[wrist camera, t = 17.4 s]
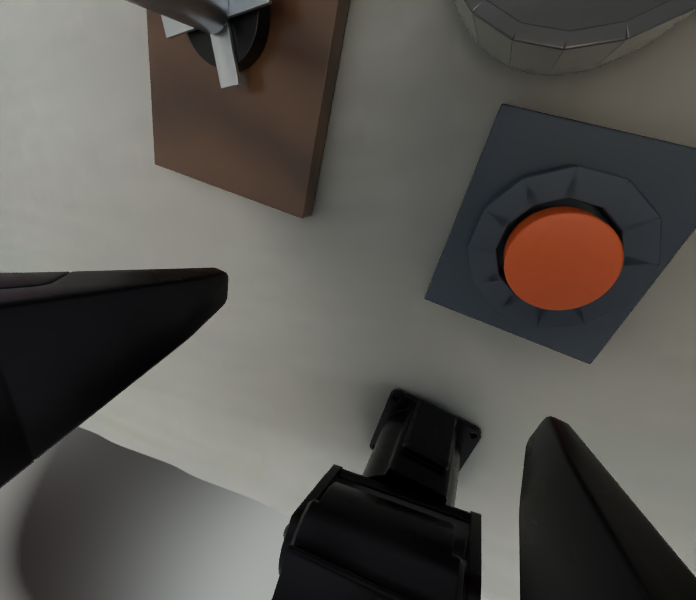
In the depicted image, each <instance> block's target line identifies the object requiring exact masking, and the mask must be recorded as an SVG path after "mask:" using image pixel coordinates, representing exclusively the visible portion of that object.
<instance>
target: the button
mask: <svg viewBox="0 0 696 600" xmlns="http://www.w3.org/2000/svg"><path fill="white" fill-rule="evenodd" d="M623 261H624V251H623V246H622V242H621V240H620V238H619V236H618V235H617V233H616V232H615V231H614V230H613V229H612V228H611V227H610V225H608V224H607V223H605V222H604V221H603V220H601V219H600V218H598V217H597V216H595V215H594V214H592V213H590V212H588V211H586V210H584V209H581V208H577V207H570V206H556V207H550V208H546V209H543V210H540V211H537V212H535V213H533V214H531V215H529V216H528V217H526V218H525V219H524V220H522V221H521V222H520V223H519V224H518V225H517V226H516V227H515V228H514V229H513V231H512V232H511V234H510V235H509V237H508V239H507V241H506V244H505V248H504V273H505V277H506V280H507V283H508V284H509V286H510V288H511V289H512V291H513V292H514V293H515V294H516V295H517V296H518V297H519V298H521V299H522V300H523V301H525V302H527V303H528V304H531V305H533V306H535V307H539V308H542V309H548V310H568V309H574V308H578V307H581V306H584V305H587V304H589V303H591V302H593V301H595V300H596V299H598V298H599V297H601V296H602V295H603V294H605V293H606V292H607V291H608V290H609V289H610V288H611V287H612V286H613V284H614V283H615V282H616V280H617V278H618V277H619V275H620V272H621V270H622V266H623Z"/></svg>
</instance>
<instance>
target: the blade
mask: <svg viewBox="0 0 696 600" xmlns="http://www.w3.org/2000/svg"><path fill="white" fill-rule="evenodd" d="M126 1H128V2H131V3H133V4H136V5H138V6H141V7H143V8H146V9H148V10H151V11H153V12H156V13H158V14H161V17H162V21H163V25H164V29H165V34H166V37H167V38H168V39H172V38H175V37H177V36H180V35H183V34H186V33H187V35H188V37H189V40H190V42H191V44H192V45H193V47H194V49H195V50H196V52H197V53H198V54H199V55H200V56H201V58H202V59H204V60H205V61H206V62H207V63H209V64H210V65H212V66H215V67H217V71H218V76H219V80H220V85H221V88H222V89H226V88H230V87H234V86H239V85H241V80H240V75H239V71H242V70H245V69H247V68H249V67H250V66H251V65H253V64H254V63H255V62H256V61H257V59H258V58H259V57H260V55H261V54H262V52H263V50H264V47H265V45H266V42H267V39H268V35H269V29H270V4H272V1H271V0H126Z"/></svg>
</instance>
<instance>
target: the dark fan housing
mask: <svg viewBox="0 0 696 600" xmlns="http://www.w3.org/2000/svg"><path fill="white" fill-rule="evenodd" d="M454 1H455V4H456V8H457V10H458V13H459V15H460V16H461V18H462V19H463V21H464V23H465V26H466V28H467V30H468V31H469V32H470V34H471V35H472V37H473V38H474V39H475V41H476V42H477V43H478V44H479V45H480V46H481V47H482V48H483V49H484V50H485V51H486V52H487V53H488V54H489V55H491V56H492V57H493V58H495V59H496V60H498V61H499V62H501V63H503V64H505V65H507V66H509V67H511V68H514V69H517V70H521V71H524V72H528V73H536V74H544V75H547V74H566V73H573V72H580V71H584V70H587V69H591V68H594V67H598V66H601V65H604V64H606V63H609V62H611V61H614V60H616V59H619V58H621V57H623V56H625V55H627V54H629V53H631V52H633V51H635V50H637V49H638V48H641V47H643V46H645V45H647V44H648V43H650V42H652V41H653V40H655V39H656V38H657V37H659V36H660V35H662V34H663V33H664V32H666V31H667V30H669V29H670V28H671V27H673V26H674V25H675V24H677V23H678V22H680V21H681V20H682V19H684V18H685V17H687V16H688V15H689V14H691V13H692V12H693V11H695V10H696V0H454Z"/></svg>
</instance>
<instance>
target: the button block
mask: <svg viewBox="0 0 696 600" xmlns="http://www.w3.org/2000/svg"><path fill="white" fill-rule="evenodd" d="M556 206H570V207H577V208H581V209H584V210H586V211H588V212H590V213H592V214H594V215H595V216H597V217H598V218H600V219H601V220H603V221H604V222H605V223H607V224H608V225H610V227H611V228H612V229H613V230H614V231H615V232H616V233H617V235H618V236H619V238H620V240H621V242H622V246H623V251H624V261H623V266H622V270H621V272H620V275H619V277H618V278H617V280H616V282H615V283H614V284H613V286H612V287H611V288H610V289H609V290H608V291H607V292H606V293H605V294H603V295H602V296H601V297H599V298H598V299H596V300H595V301H593V302H591V303H589V304H587V305H584V306H581V307H578V308H574V309H568V310H548V309H542V308H539V307H535V306H533V305H531V304H528V303H527V302H525V301H523V300H522V299H521V298H519V297H518V296H517V295H516V294H515V293H514V292H513V291H512V289H511V288H510V286H509V284H508V283H507V280H506V277H505V273H504V248H505V244H506V241H507V239H508V237H509V235H510V234H511V232H512V231H513V229H514V228H515V227H516V226H517V225H518V224H519V223H520V222H521V221H522V220H524V219H525V218H526V217H528V216H529V215H531V214H533V213H535V212H537V211H540V210H543V209H546V208H550V207H556ZM695 228H696V148H692V147H688V146H684V145H679V144H675V143H671V142H667V141H662V140H658V139H654V138H649V137H645V136H641V135H636V134H632V133H628V132H623V131H619V130H615V129H611V128H606V127H602V126H598V125H593V124H589V123H585V122H580V121H576V120H572V119H568V118H563V117H559V116H555V115H550V114H546V113H542V112H537V111H533V110H529V109H524V108H520V107H516V106H512V105H507V104H502V105H501V107H500V109H499V112H498V114H497V117H496V119H495V122H494V124H493V127H492V129H491V132H490V134H489V137H488V139H487V142H486V144H485V147H484V149H483V152H482V154H481V157H480V159H479V162H478V164H477V167H476V170H475V172H474V175H473V177H472V180H471V182H470V185H469V187H468V190H467V192H466V195H465V197H464V200H463V202H462V205H461V207H460V210H459V212H458V215H457V217H456V220H455V222H454V225H453V227H452V230H451V232H450V235H449V237H448V240H447V242H446V245H445V247H444V250H443V252H442V255H441V258H440V260H439V263H438V265H437V268H436V270H435V273H434V275H433V278H432V280H431V283H430V285H429V288H428V290H427V293H426V295H425V299H426V300H429V301H431V302H434V303H436V304H439V305H442V306H444V307H447V308H449V309H452V310H454V311H457V312H459V313H462V314H464V315H467V316H469V317H472V318H474V319H477V320H479V321H482V322H485V323H487V324H490V325H492V326H495V327H497V328H500V329H502V330H505V331H507V332H510V333H512V334H515V335H517V336H520V337H522V338H525V339H527V340H530V341H533V342H535V343H538V344H540V345H543V346H545V347H548V348H550V349H553V350H555V351H558V352H560V353H563V354H565V355H568V356H570V357H573V358H575V359H578V360H581V361H583V362H586V363H588V364H591V363H592V362H593V360H594V359H595V358H596V356H597V355H598V354H599V352H600V351H601V350H602V349H603V347H604V346H605V345H606V343H607V342H608V341H609V340H610V338H611V337H612V336H613V334H614V333H615V332H616V330H617V329H618V328H619V327H620V325H621V324H622V323H623V321H624V320H625V319H626V317H627V316H628V315H629V314H630V312H631V311H632V310H633V308H634V307H635V306H636V305H637V303H638V302H639V301H640V299H641V298H642V297H643V295H644V294H645V293H646V292H647V290H648V289H649V288H650V286H651V285H652V284H653V283H654V281H655V280H656V279H657V277H658V276H659V275H660V273H661V272H662V271H663V270H664V268H665V267H666V266H667V264H668V263H669V262H670V260H671V259H672V258H673V257H674V255H675V254H676V253H677V251H678V250H679V249H680V248H681V246H682V245H683V244H684V242H685V241H686V240H687V238H688V237H689V236H690V235H691V233H692V232H693V231H694V229H695Z"/></svg>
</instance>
